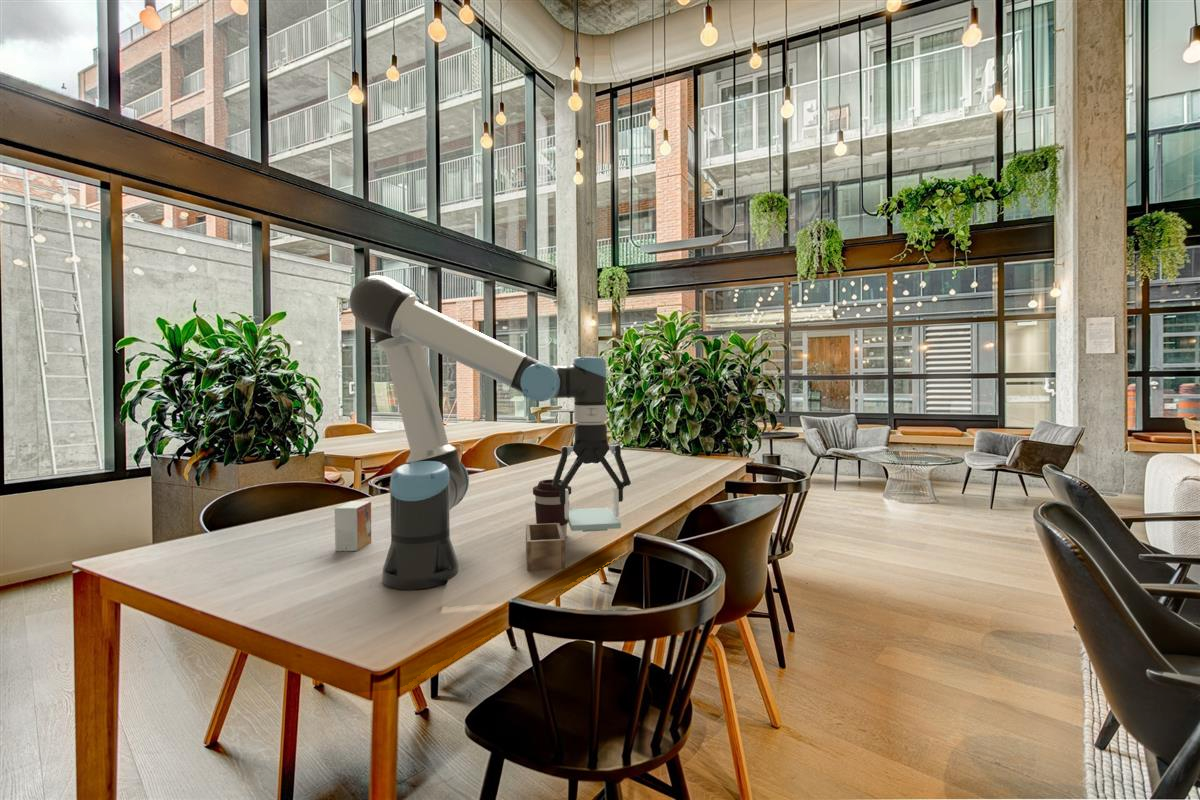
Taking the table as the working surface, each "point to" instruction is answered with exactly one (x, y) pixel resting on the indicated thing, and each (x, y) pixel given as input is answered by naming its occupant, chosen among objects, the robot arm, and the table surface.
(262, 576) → the table surface
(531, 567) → the box
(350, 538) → the small box
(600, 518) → the lid
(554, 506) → the coffee cup
